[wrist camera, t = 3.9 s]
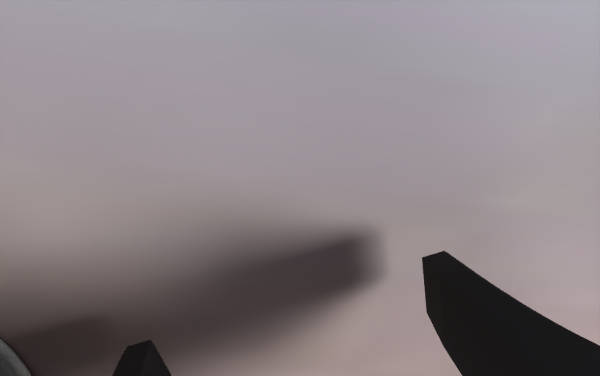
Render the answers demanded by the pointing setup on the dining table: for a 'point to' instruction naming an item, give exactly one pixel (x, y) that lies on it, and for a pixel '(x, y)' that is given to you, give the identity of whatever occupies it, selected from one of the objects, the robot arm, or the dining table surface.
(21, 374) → the ceramic mug
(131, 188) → the dining table surface
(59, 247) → the dining table surface
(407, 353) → the dining table surface
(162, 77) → the dining table surface
